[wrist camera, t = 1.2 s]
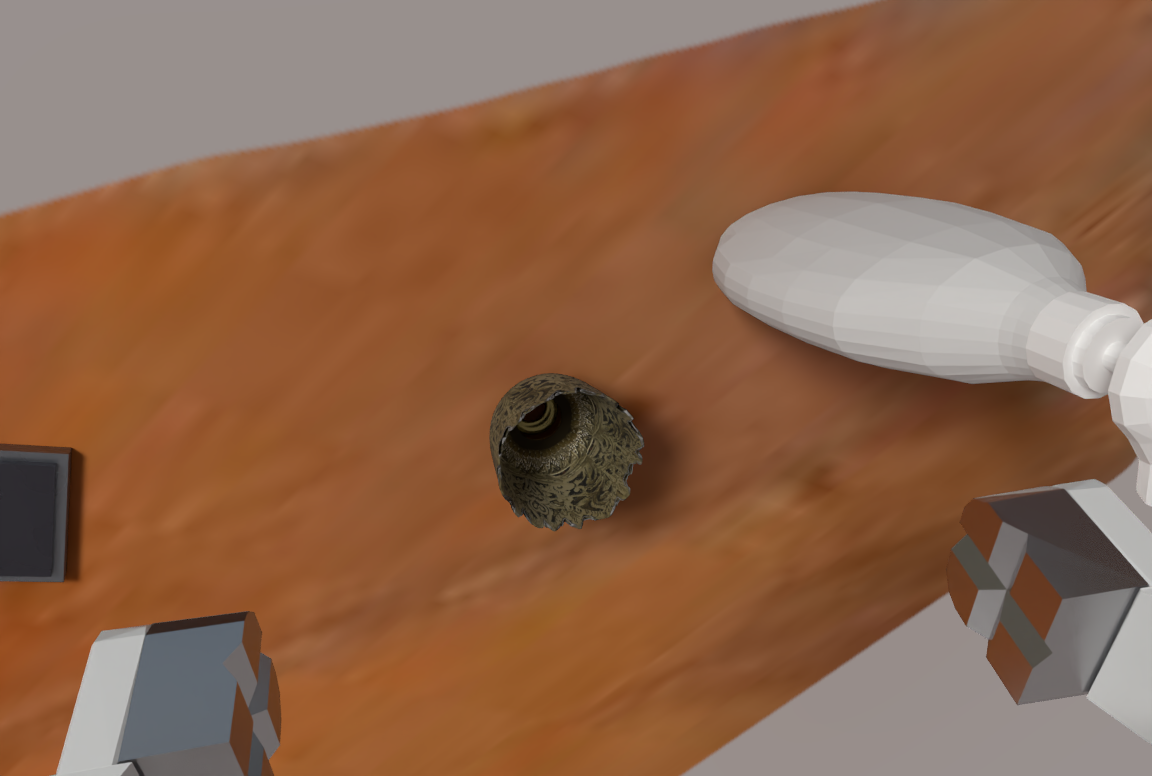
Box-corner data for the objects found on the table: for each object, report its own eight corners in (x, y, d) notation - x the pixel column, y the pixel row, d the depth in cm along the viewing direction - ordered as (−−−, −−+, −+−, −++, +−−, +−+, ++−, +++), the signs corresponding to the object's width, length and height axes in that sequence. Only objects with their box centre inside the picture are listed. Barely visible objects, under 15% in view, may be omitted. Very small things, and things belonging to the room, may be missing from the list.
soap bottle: (684, 341, 55) (1019, 579, 31) (672, 203, 52) (1032, 347, 28) (901, 290, 58) (1356, 467, 34) (901, 157, 55) (1401, 249, 31)
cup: (560, 483, 56) (605, 549, 48) (445, 446, 53) (475, 511, 46) (614, 369, 54) (668, 420, 47) (499, 325, 51) (538, 372, 44)
